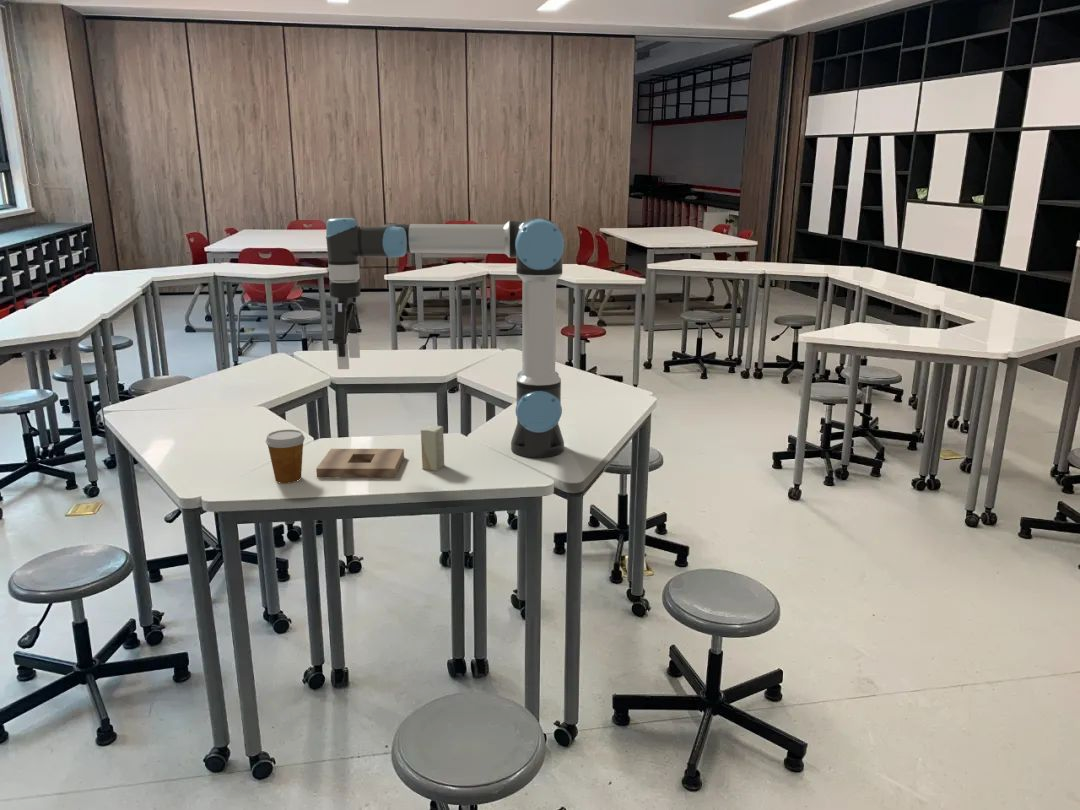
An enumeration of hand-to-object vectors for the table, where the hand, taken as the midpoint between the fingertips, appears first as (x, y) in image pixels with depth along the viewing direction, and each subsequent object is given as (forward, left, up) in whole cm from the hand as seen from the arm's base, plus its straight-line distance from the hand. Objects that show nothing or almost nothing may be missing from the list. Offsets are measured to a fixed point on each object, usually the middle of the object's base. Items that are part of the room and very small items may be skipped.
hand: (349, 363), depth 211 cm
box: (-21, +2, -28) cm, 35 cm away
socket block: (-2, +2, -28) cm, 28 cm away
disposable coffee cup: (+15, +11, -28) cm, 34 cm away
